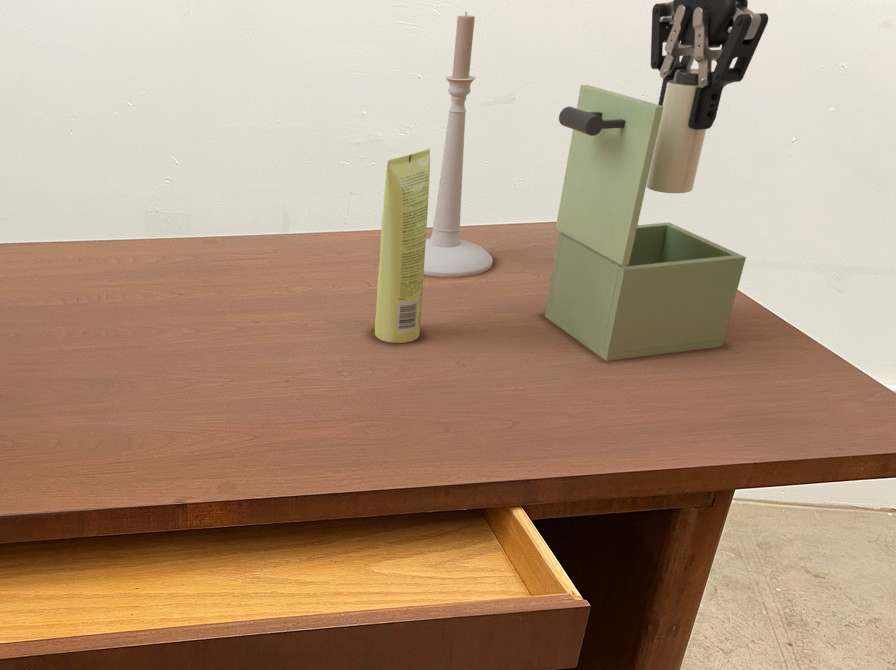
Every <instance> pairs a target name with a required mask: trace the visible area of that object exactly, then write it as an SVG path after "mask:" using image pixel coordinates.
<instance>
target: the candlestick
mask: <svg viewBox="0 0 896 670" xmlns="http://www.w3.org/2000/svg"><path fill="white" fill-rule="evenodd" d="M467 13H468V11H465V13H464V14H465V15H458V16H457V18H456V19H457V20H456V30H455V31H456V32H455V43H454V53H453V54H454V55H453V65H452V75H448V76H445V79H446V80H447V82H448V85H449V86H448V90H447V92H448V94H449V95H450V96H451V97H450V100H451V105H450V107H449V109H448V118H447V123H446V124H447V126H446V132H445V140H444V147H443V154H442V161H441V167H440V168H441V169H440V176H439V182H438V190H437V197H436V206H435V213H434V220H433V225H432V231H431V235H430V237H429V238H426V245H425V261H424V275H425V276H431V277H441V278H459V277H460V278H461V277H469V276H474V275H479V274H481V273H485V272H486V271H488V270H489V269H491V268H492V266H493V263H494V260H493V257H492V255H491V254H490V253H489V251H487V250H486V249H485V248H483V247H482V246H480V245H478V244H476V243H473V242H471V241H468V240H465V239H464V240H463V239H461V231H460V229H461V213H462V190H463V172H464V171H463V169H464V149H465V128H466V112H467V109H466V105H465V103H466V100H467V96H468V95H469V94H470V93H471V84H472V82H473V81H474V80H476V77H475V76H471V75H470V71H471V60H472V59H471V58H472V50H473V40H474V29H475V19H476V17H475V16H474V15H468V14H467Z"/></svg>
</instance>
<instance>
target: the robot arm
mask: <svg viewBox="0 0 896 670" xmlns="http://www.w3.org/2000/svg"><path fill="white" fill-rule="evenodd" d="M748 1H749V0H671V1H669V2H661V3H655V4H654V5H653V7H652V11H651V35H650V37H651V38H650V40H651V41H650V42H651V43H650V68H651V70H657V71H658V72H659V76H660V78H661V79H662V83H661V87H660V88H661V89H660V93H659V97H658V103H657V105H660V106H663V101H664V96H665V91H666V86H667V82H668V81H669V80H673V79H674V75H675V71H676V70H679V69H692V66H693V64H694V61H695V62H697V63H698V64H697V65H698V68H697V69H698V85H699V87H697V88H696V91H695V96H694V100H693V105H692V109H691V114H690V118H689V123H688V126H689V128H691V129H695V130H700V129H706V130H708V129H711V127H712V126H713V125H714V123H715V120H716V119H717V114H718V109H719V106H720V102H721V97H722V93H723V89H724V88H725V87H726V86H727V85H730V84H733V83H739V82H741V81H742V80H743V79H744V77H745V74H746V72H747V70H748V68H749V66H750V63H751V61H752V58H754V57H753V56H754V55H755V53H756V50H757V48H758V46H759V43H760V41H761V39H762V37H763V34H764V32H765V30H766V28H767V25H768V23H769V15H768V14H767V13H765V12H762V13H761V12H759V13H758V12H757V13H755V12H753V11H752V10H750V9H749V8H748V6H749V2H748ZM664 44H665V46H664ZM663 47H664V48H663ZM714 48H715V49H714ZM716 48H720V49H716ZM663 49H664V51H665V52H666V54H665V55H664V54H663ZM680 57H681V58H680ZM734 59H736V60H735V63H734V65H733V67H731V65H732V63H733V60H734ZM713 61H715V62H716V65H715V67H714V70H712V65H713V64H712V63H713ZM711 71H712V72H711Z"/></svg>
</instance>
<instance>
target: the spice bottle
mask: <svg viewBox="0 0 896 670" xmlns="http://www.w3.org/2000/svg"><path fill="white" fill-rule="evenodd" d="M711 72H713V70H711ZM697 87H699V85H698V68H690V69H679V70H676V71H675V75H674V79H673V80H669V81H668V82H667V86H666V91H665V96H664V101H663V107H664V108H663V112H662V117H661V121H660V126H659V130H658V135H657V139H656V144H655V148H654V153H653V157H652V162H651V166H650V171H649V175H648V180H647V184H646V189H648V190H650V191H654V192H659V193H663V194H685V193H691V192H692V191H693V189H694V185H695V180H696V176H697V173H698V166H699V163H700V158H701V154H702V150H703V145H704V142H705V137H706V132H707V129H700V130H695V129H691V128H689V126H688V123H689V118H690V114H691V109H692V105H693V100H694V96H695V91H696V88H697Z"/></svg>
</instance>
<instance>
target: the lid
mask: <svg viewBox="0 0 896 670" xmlns="http://www.w3.org/2000/svg"><path fill="white" fill-rule="evenodd" d="M663 108H664V107H663V106H660V105H658V103H657V104H656V103H653V102H649V101H646V100H644V99H643V100H642V99H639V98H635V97H632V96H628V95H624V94H621V93H617V92H613V91H610V90H607V89H604V88H600V87H597V86H593V85H589V84H580V87H579V93H578V97H577V104H576V107H574V106H566V107H564V108H562V109H561V111H560V113H559V115H558V122H559V124H560V125H561V126H563V127H566V128H569V129H571V130H572V132H571V139H570V144H569V150H568V155H567V161H566V168H565V174H564V179H563V185H562V190H561V195H560V202H559V207H558V213H557V219H556V224H555V229H556V230H557V231H559V232H560V233H562V232H563V233H564V234H566V235H568V236H570V237H572V238H573V239H575V240H577V241H579V242H581V243H582V244H584V245H586V246H588V247H590V248H591V249H593V250H595V251H597V252H599V253H600V254H602V255H604V256H606V257H608V258H609V259H611V260H613V261H615V262H617V263H619V264H620V265H629V261H630V257H631V252H632V248H633V243H634V239H635V234H636V230H637V225H639V221H640V215H641V211H642V206H643V203H644V197H645V193H646V189H647V187H646V185H647V180H648V175H649V171H650V166H651V162H652V157H653V153H654V148H655V144H656V139H657V135H658V130H659V126H660V121H661V117H662V112H663Z"/></svg>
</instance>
